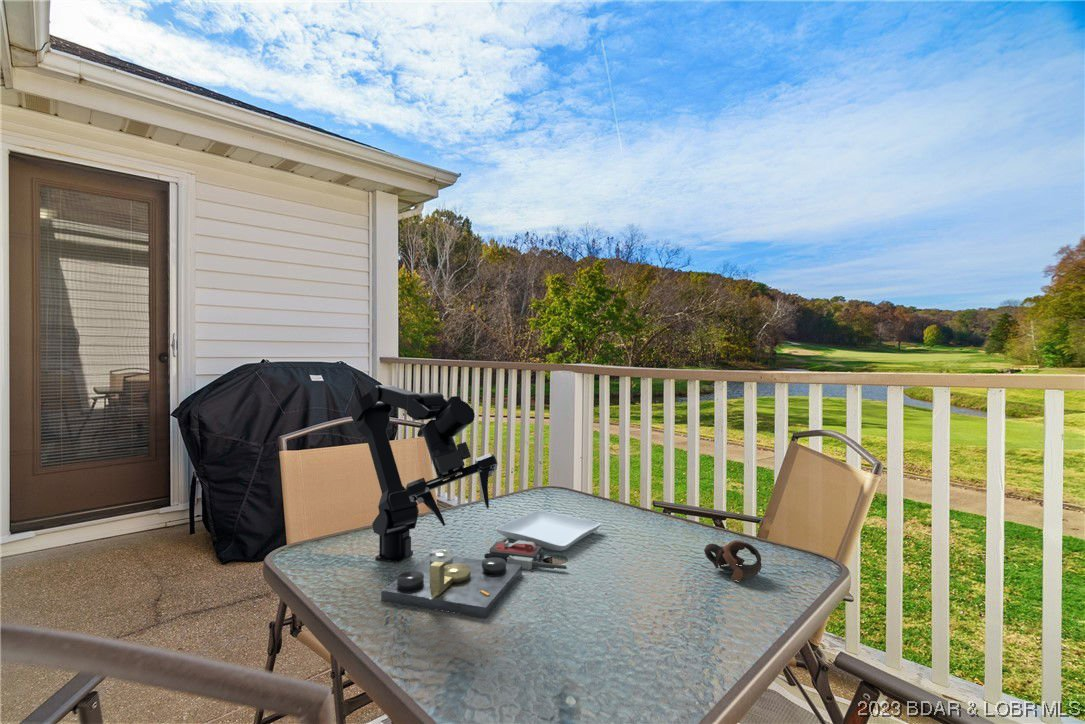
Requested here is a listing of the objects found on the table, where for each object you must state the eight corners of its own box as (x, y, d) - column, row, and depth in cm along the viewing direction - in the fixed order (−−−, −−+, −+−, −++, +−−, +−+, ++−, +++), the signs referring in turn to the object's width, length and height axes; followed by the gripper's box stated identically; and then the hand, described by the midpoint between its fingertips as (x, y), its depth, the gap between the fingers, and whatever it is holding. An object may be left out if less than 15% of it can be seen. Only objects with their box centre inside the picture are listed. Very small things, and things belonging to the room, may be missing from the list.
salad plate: (603, 534, 141) (603, 521, 141) (563, 559, 123) (564, 545, 123) (537, 520, 152) (537, 508, 152) (493, 541, 134) (493, 528, 134)
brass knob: (449, 568, 111) (449, 542, 111) (475, 572, 109) (475, 545, 109) (420, 593, 99) (420, 564, 99) (448, 597, 98) (448, 568, 98)
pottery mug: (754, 568, 119) (765, 544, 115) (752, 602, 112) (764, 578, 107) (701, 549, 123) (710, 525, 118) (696, 581, 115) (705, 556, 111)
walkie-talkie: (480, 565, 119) (565, 575, 114) (480, 546, 119) (565, 555, 114) (493, 552, 128) (573, 560, 122) (493, 534, 127) (573, 542, 122)
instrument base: (379, 601, 100) (379, 576, 100) (432, 561, 120) (432, 540, 120) (484, 619, 94) (484, 592, 94) (521, 574, 113) (522, 551, 113)
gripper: (393, 450, 100) (418, 528, 94) (484, 419, 105) (513, 491, 100) (399, 465, 110) (422, 537, 104) (482, 436, 115) (508, 502, 110)
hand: (466, 516), depth 104 cm, fingers open, 9 cm apart
